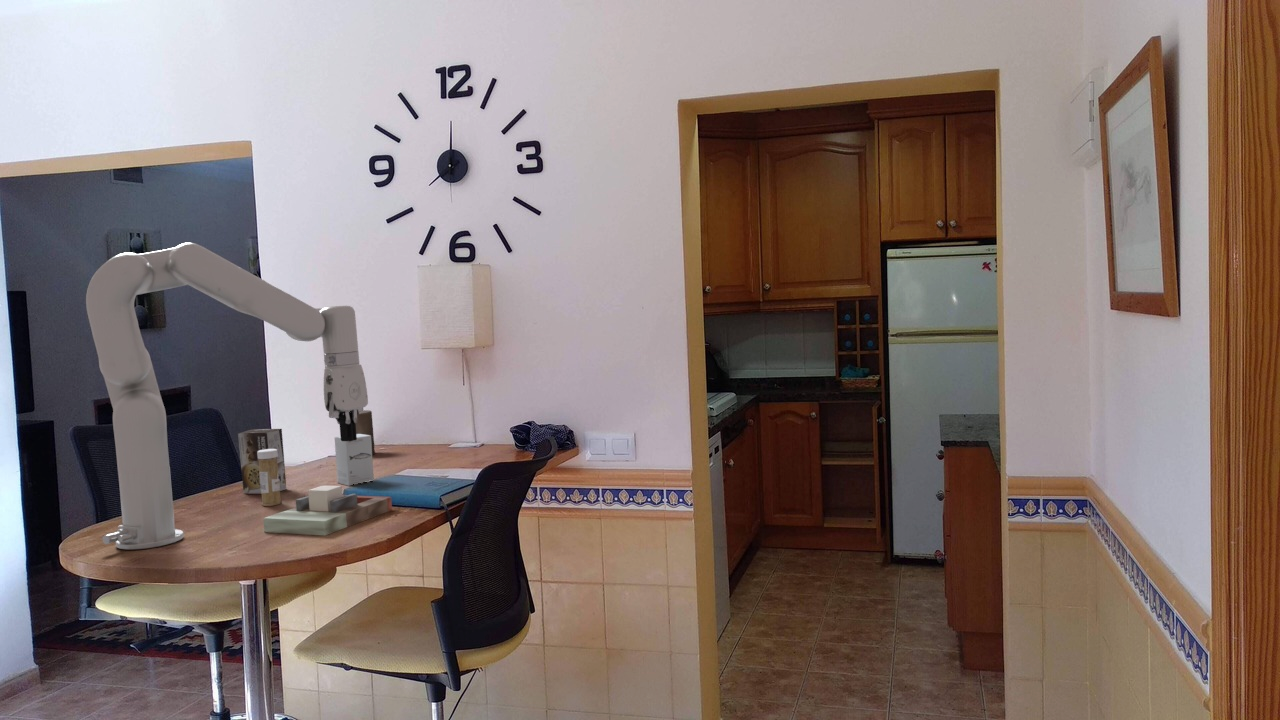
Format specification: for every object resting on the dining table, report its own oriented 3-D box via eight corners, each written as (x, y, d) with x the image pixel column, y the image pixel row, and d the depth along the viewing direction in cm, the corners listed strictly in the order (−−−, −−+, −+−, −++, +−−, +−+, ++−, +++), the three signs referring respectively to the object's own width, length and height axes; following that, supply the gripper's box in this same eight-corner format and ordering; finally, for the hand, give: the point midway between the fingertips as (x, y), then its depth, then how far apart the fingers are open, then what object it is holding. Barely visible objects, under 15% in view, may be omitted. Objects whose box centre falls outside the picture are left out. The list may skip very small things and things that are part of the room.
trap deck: (325, 535, 196) (323, 509, 195) (264, 531, 201) (262, 506, 201) (391, 509, 217) (390, 486, 217) (335, 507, 223) (333, 484, 222)
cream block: (328, 511, 205) (326, 490, 204) (309, 510, 207) (308, 490, 206) (343, 506, 209) (341, 486, 209) (324, 505, 211) (323, 485, 211)
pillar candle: (381, 453, 301) (378, 406, 301) (357, 458, 293) (354, 410, 292) (360, 452, 307) (357, 406, 306) (336, 457, 298) (332, 409, 297)
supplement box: (348, 486, 248) (345, 438, 247) (336, 483, 254) (333, 436, 253) (374, 481, 253) (371, 435, 252) (362, 478, 258) (359, 432, 258)
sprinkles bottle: (283, 504, 229) (279, 449, 228) (263, 507, 226) (259, 452, 225) (279, 501, 233) (274, 447, 232) (259, 504, 230) (255, 450, 229)
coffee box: (287, 489, 249) (283, 428, 247) (272, 494, 242) (267, 432, 241) (258, 488, 251) (253, 428, 250) (241, 493, 245) (237, 432, 244)
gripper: (333, 363, 205) (341, 446, 207) (376, 356, 219) (382, 435, 221) (305, 364, 208) (313, 446, 210) (349, 357, 222) (356, 435, 223)
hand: (348, 440), depth 215 cm, fingers closed
